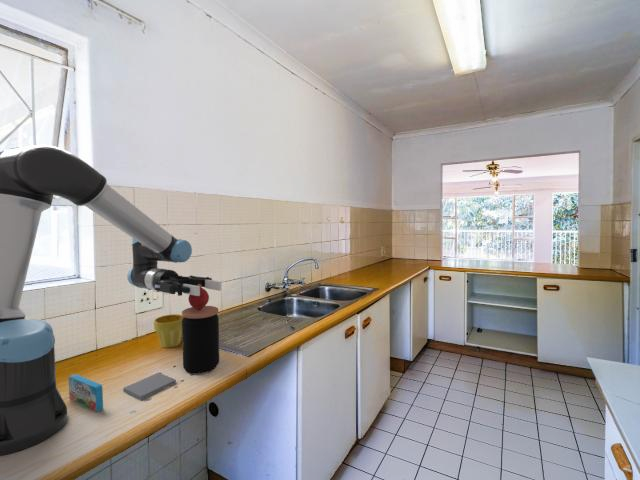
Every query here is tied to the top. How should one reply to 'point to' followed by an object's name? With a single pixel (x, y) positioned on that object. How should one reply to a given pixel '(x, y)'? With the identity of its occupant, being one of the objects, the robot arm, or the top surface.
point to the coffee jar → (200, 339)
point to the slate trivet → (149, 386)
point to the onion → (199, 299)
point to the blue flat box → (86, 392)
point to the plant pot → (169, 330)
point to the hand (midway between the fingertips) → (209, 288)
